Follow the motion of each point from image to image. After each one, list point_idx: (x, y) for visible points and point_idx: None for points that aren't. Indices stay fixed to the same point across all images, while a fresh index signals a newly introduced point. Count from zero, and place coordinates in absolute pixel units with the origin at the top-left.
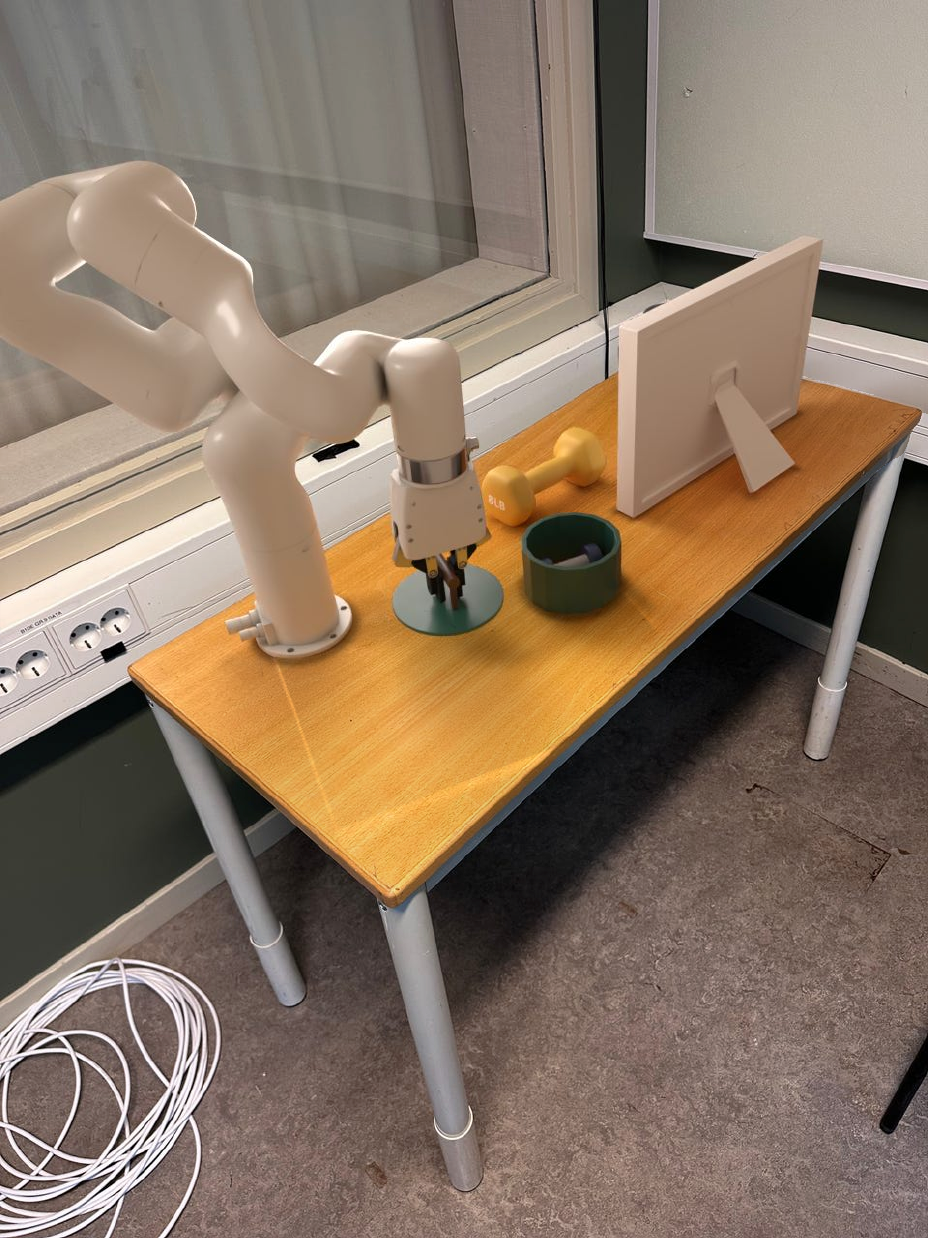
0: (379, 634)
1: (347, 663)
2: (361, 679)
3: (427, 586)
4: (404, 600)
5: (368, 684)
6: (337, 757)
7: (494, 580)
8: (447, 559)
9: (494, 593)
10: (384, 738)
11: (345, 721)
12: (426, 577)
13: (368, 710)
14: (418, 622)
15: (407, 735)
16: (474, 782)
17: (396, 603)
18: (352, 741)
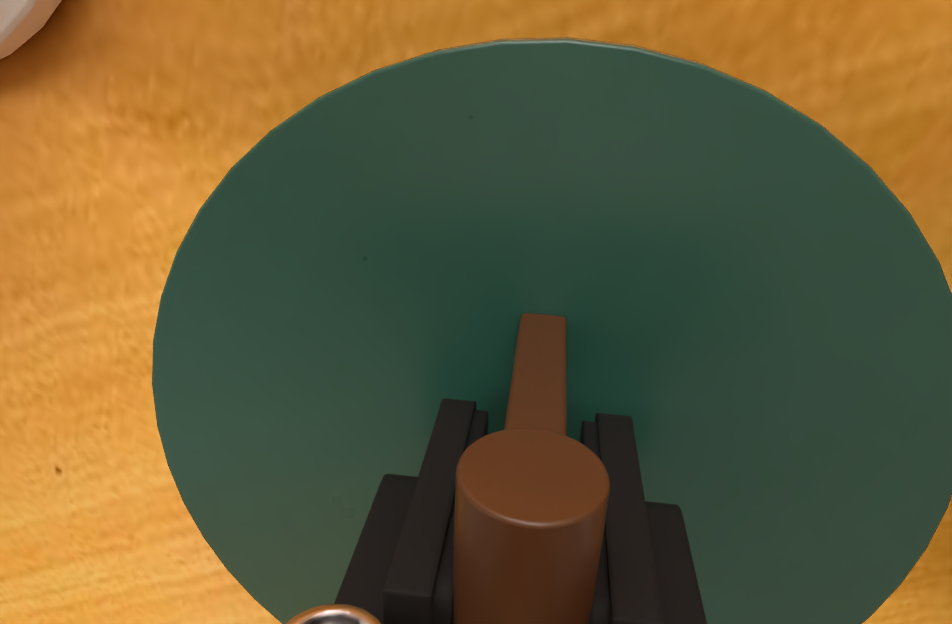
0: (230, 74)
1: (61, 193)
2: (110, 315)
3: (381, 482)
4: (240, 353)
5: (134, 354)
6: (12, 565)
7: (922, 490)
8: (609, 618)
9: (819, 593)
10: (153, 580)
11: (40, 464)
12: (355, 553)
13: (119, 463)
14: (273, 562)
15: (221, 606)
16: None
17: (181, 352)
18: (58, 541)
